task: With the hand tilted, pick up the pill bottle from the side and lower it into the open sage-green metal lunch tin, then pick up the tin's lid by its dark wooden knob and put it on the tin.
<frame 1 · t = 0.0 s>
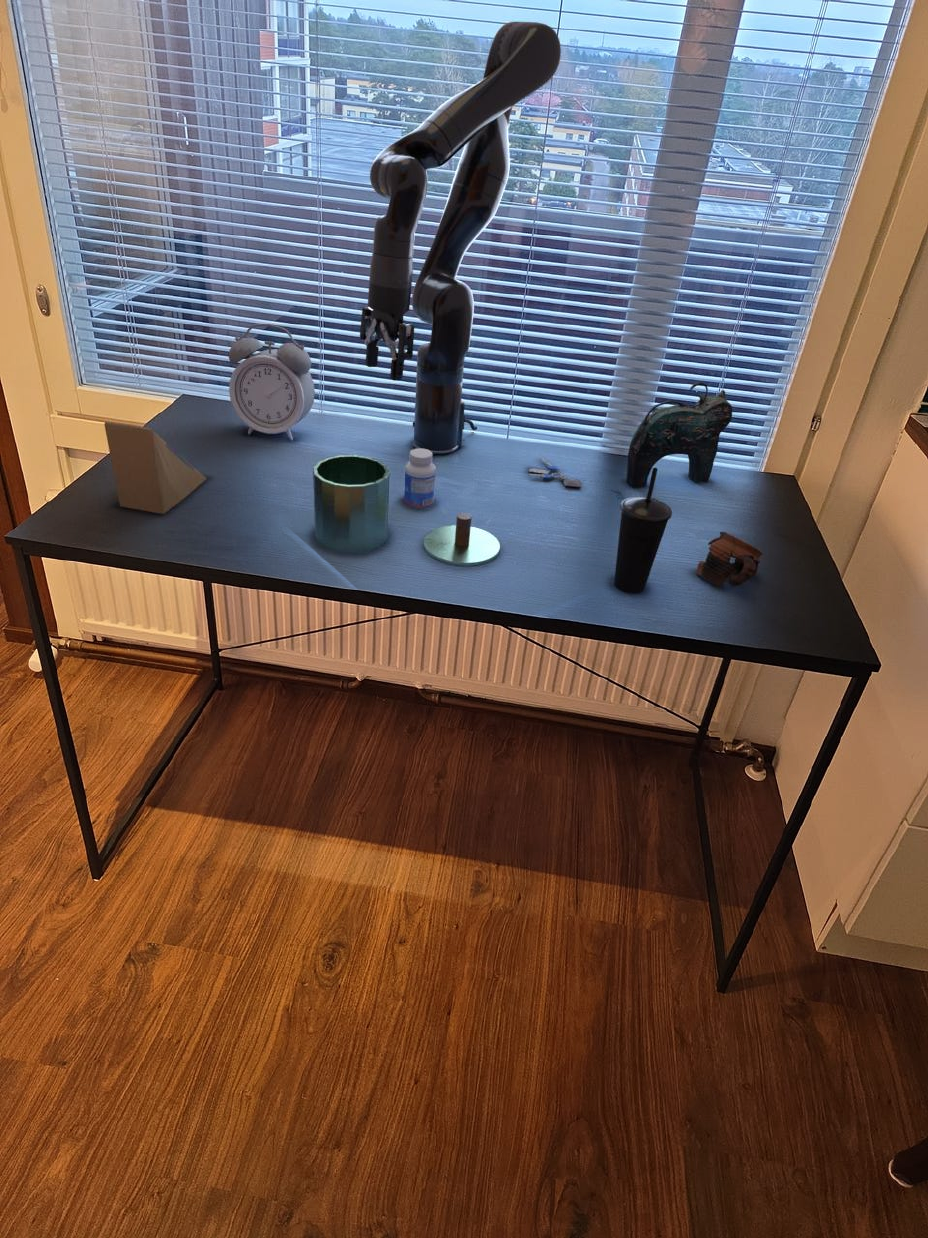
hand: (383, 372, 154), 17 cm above the table, tool pointing down, fingers open, 8 cm apart
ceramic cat: (669, 482, 165), on the table
key chain: (548, 477, 162), on the table
sandwich container: (165, 492, 145), on the table
alarm clock: (274, 433, 170), on the table
brown wooden hut: (727, 579, 134), on the table
lid: (461, 546, 135), point 1 cm above the table
tin: (351, 536, 136), on the table
pill bottle: (418, 503, 149), on the table
drinking cup: (629, 586, 130), on the table
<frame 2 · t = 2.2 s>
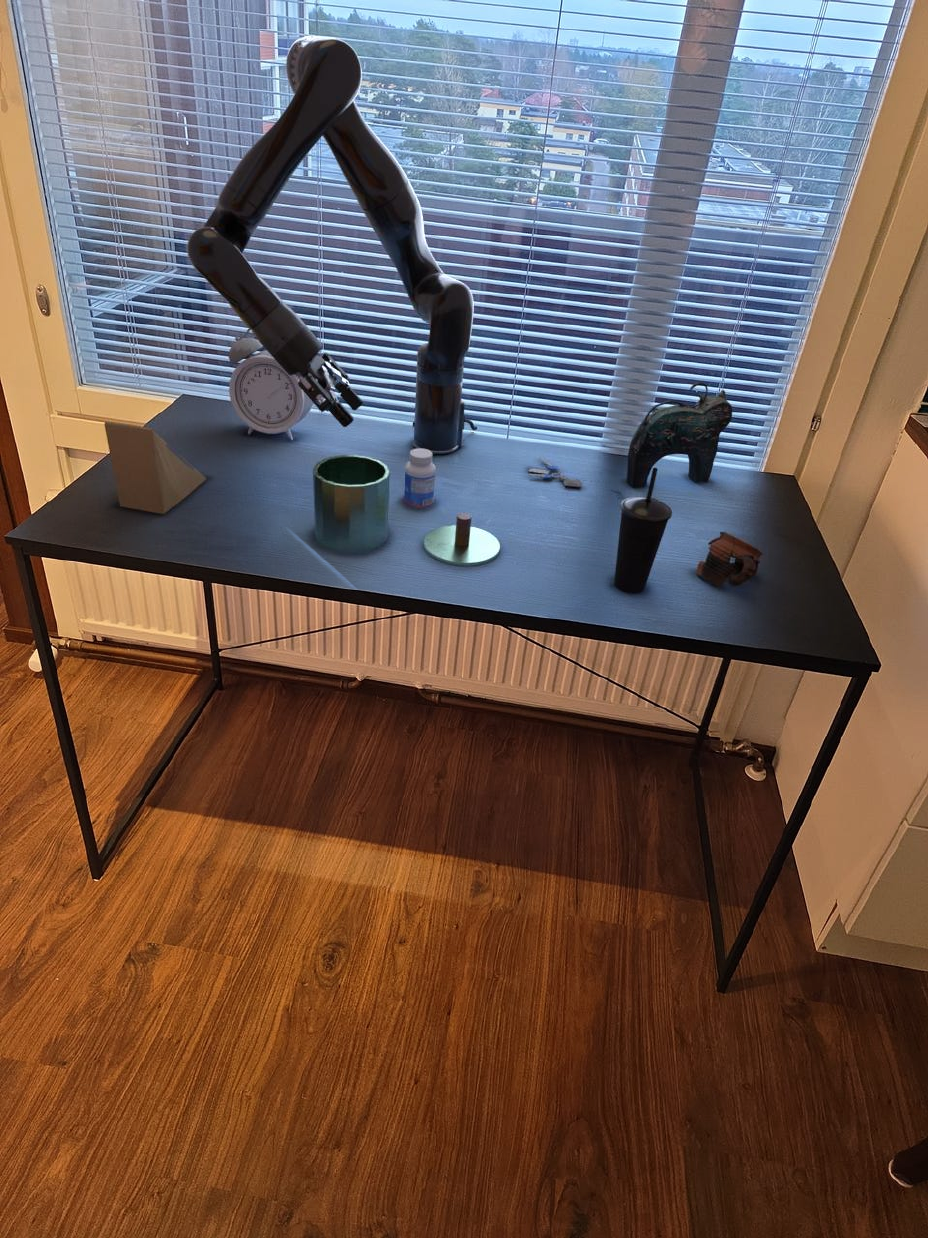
hand: (354, 415, 140), 15 cm above the table, tool tilted 45°, fingers open, 8 cm apart
nothing on the table moved.
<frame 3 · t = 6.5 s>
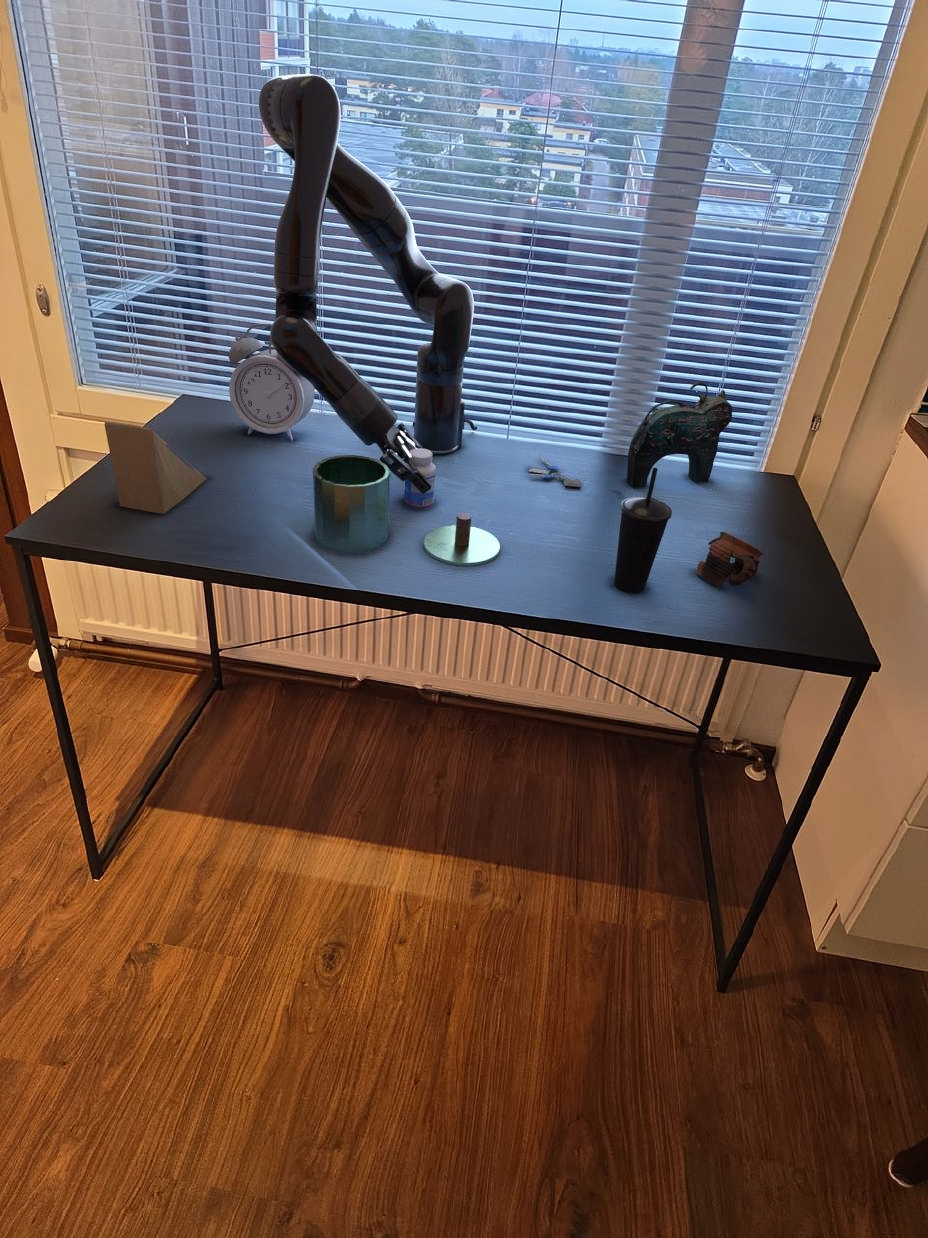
hand: (429, 482, 146), 4 cm above the table, tool tilted 45°, fingers closed on pill bottle, 5 cm apart
pill bottle: (418, 503, 149), on the table, touching gripper
everything else where it was.
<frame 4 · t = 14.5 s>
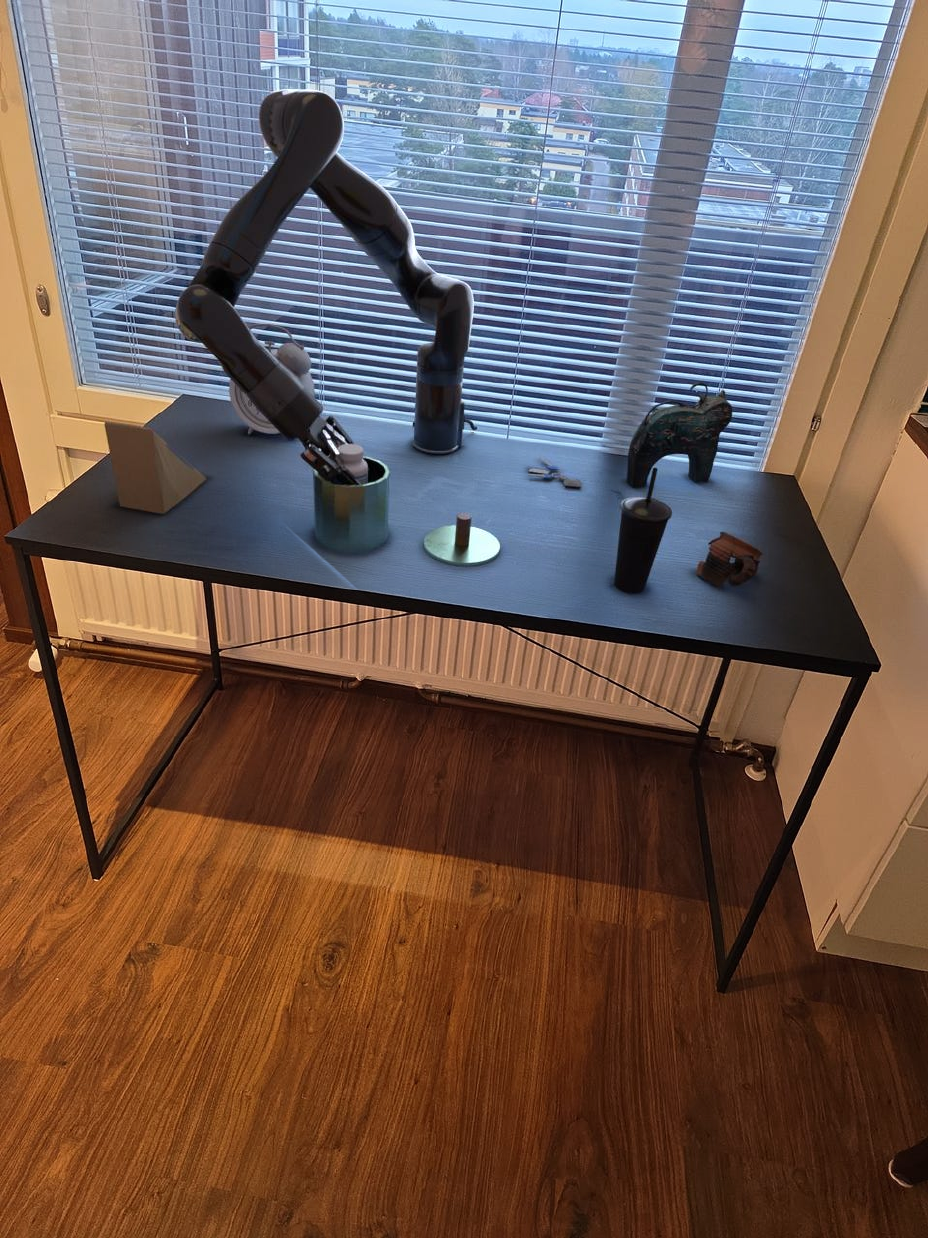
hand: (361, 482, 131), 10 cm above the table, tool tilted 45°, fingers closed on pill bottle, 5 cm apart
pill bottle: (350, 506, 133), point 6 cm above the table, touching gripper
everything else where it was.
when the fingers open (13 cm above the table, at t = 33.4 s): pill bottle drops 9 cm, resting on tin.
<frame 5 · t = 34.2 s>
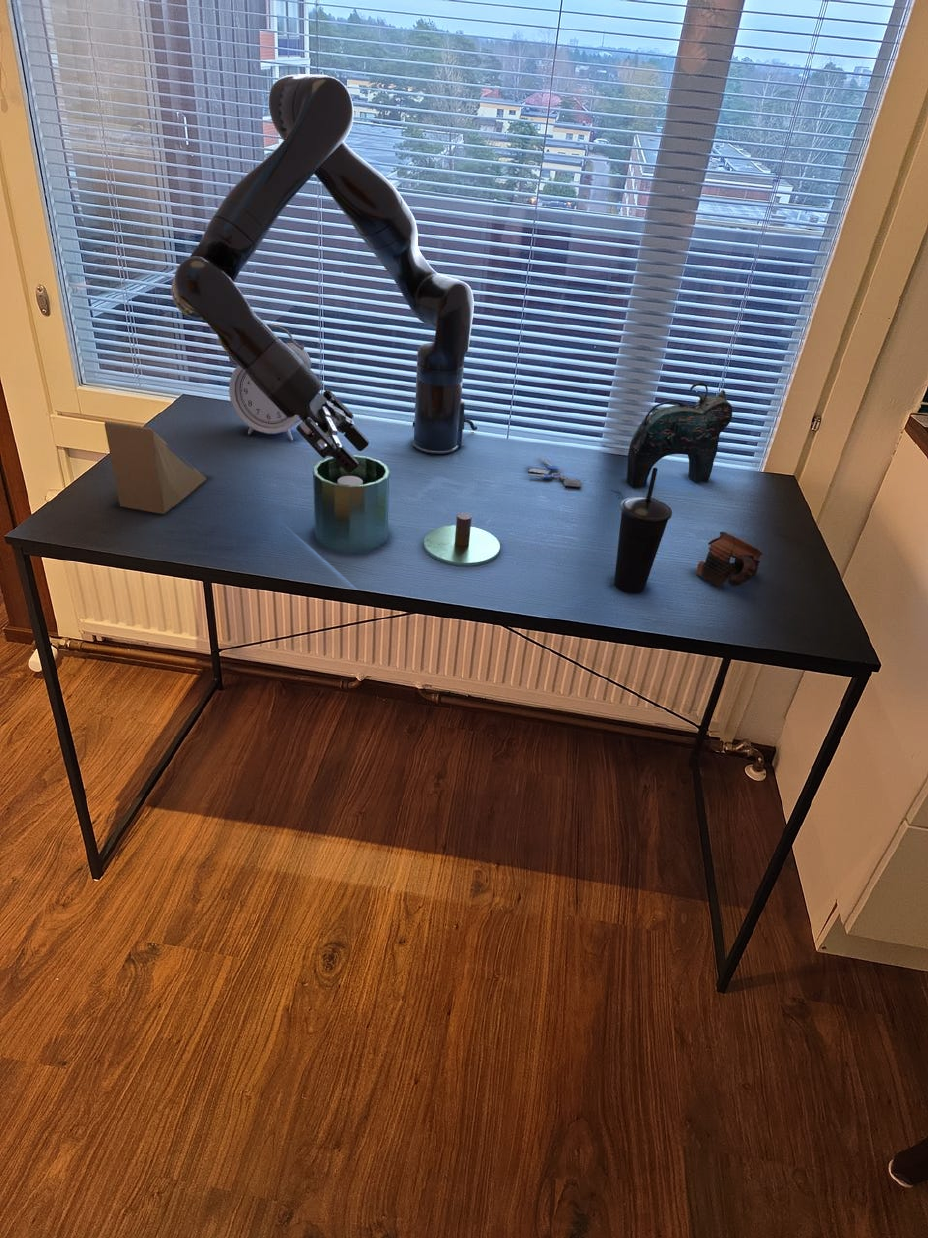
hand: (359, 457, 128), 14 cm above the table, tool tilted 45°, fingers open, 8 cm apart
pill bottle: (350, 535, 136), resting on tin
everything else where it was.
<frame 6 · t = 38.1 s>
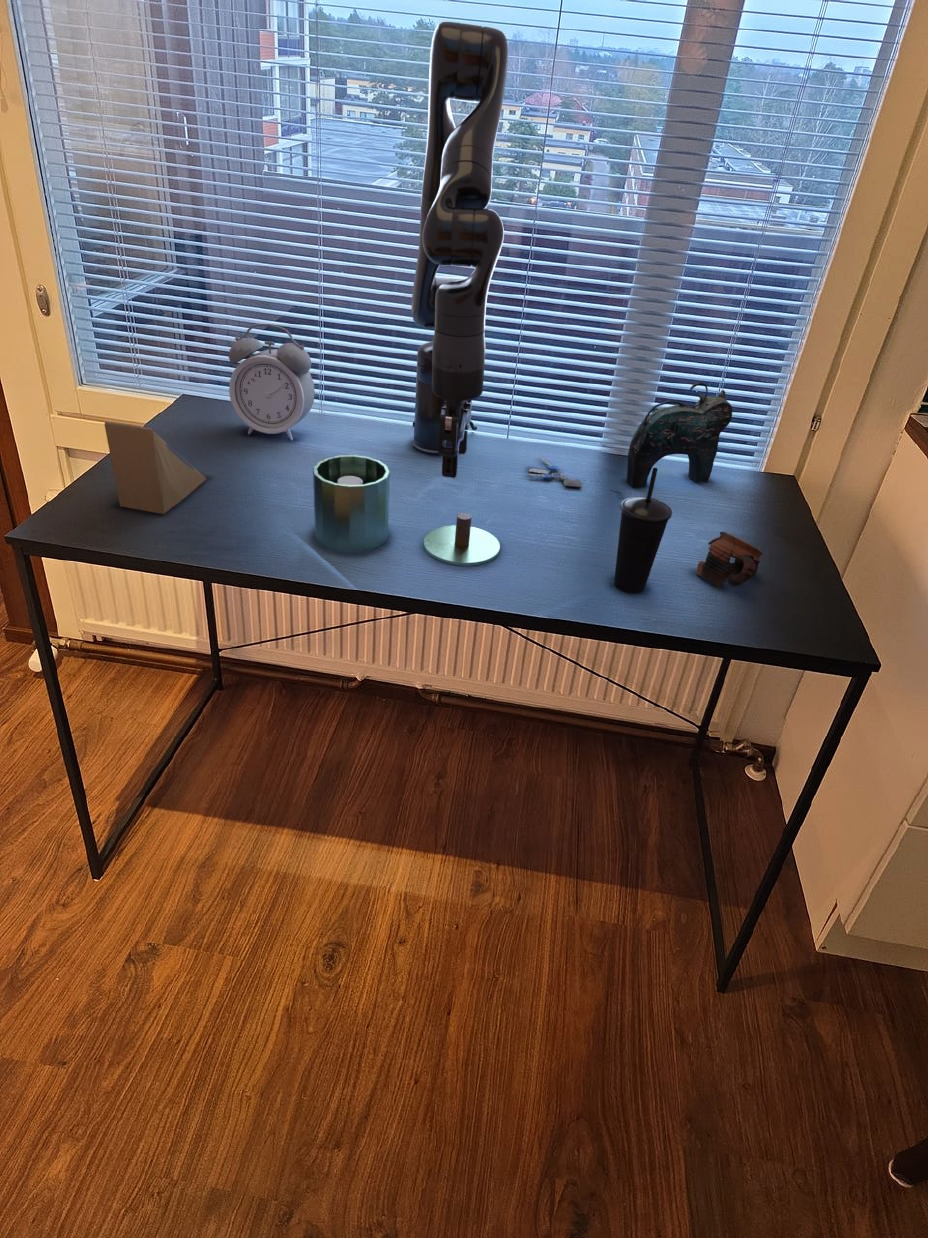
hand: (454, 464, 127), 15 cm above the table, tool pointing down, fingers open, 8 cm apart
nothing on the table moved.
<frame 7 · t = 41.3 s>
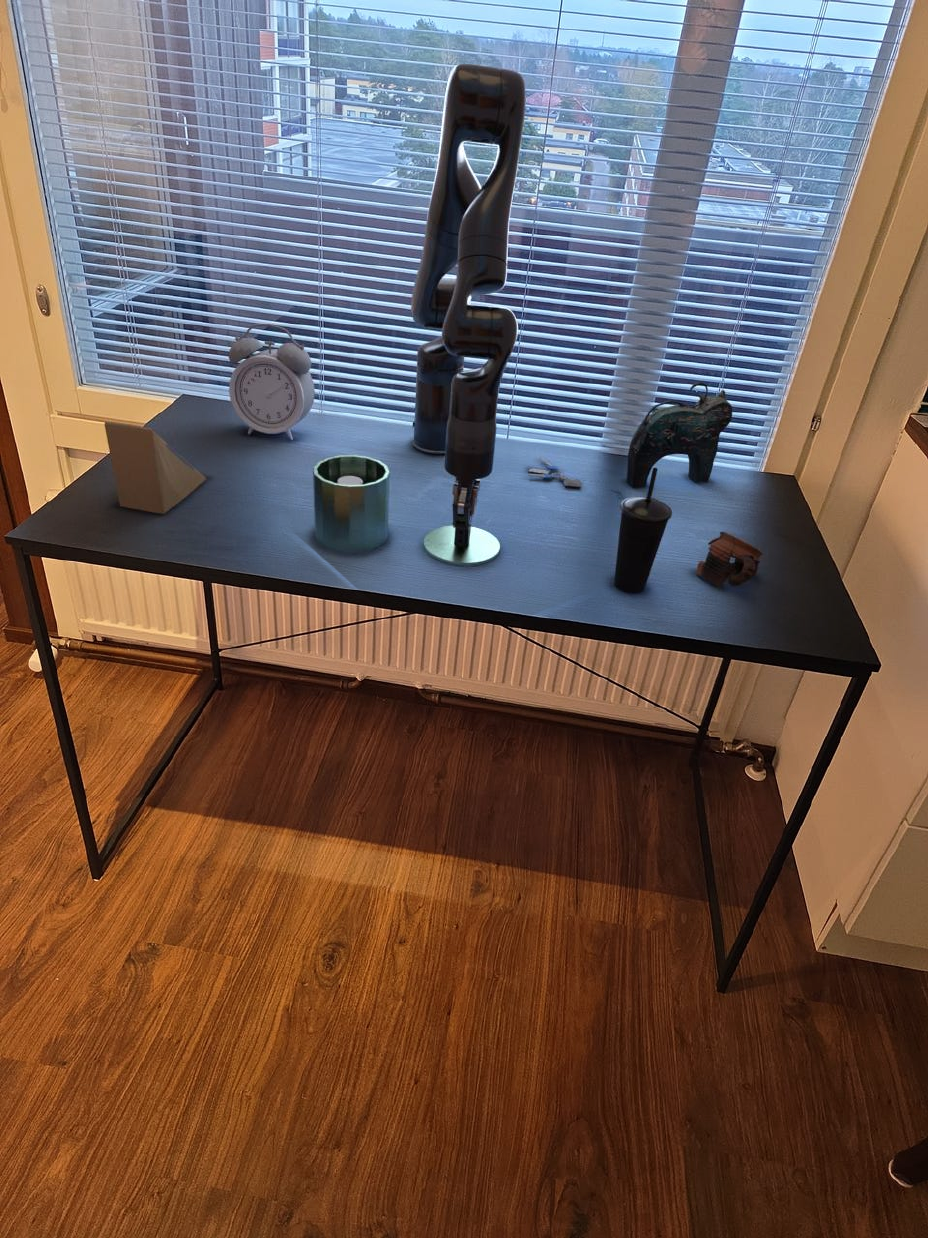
hand: (462, 541, 135), 2 cm above the table, tool pointing down, fingers closed on lid, 2 cm apart
lid: (461, 546, 135), point 1 cm above the table, touching gripper
everything else where it was.
when the fingers open (13 cm above the table, at t = 46.8 s): lid stays where it is, resting on tin.
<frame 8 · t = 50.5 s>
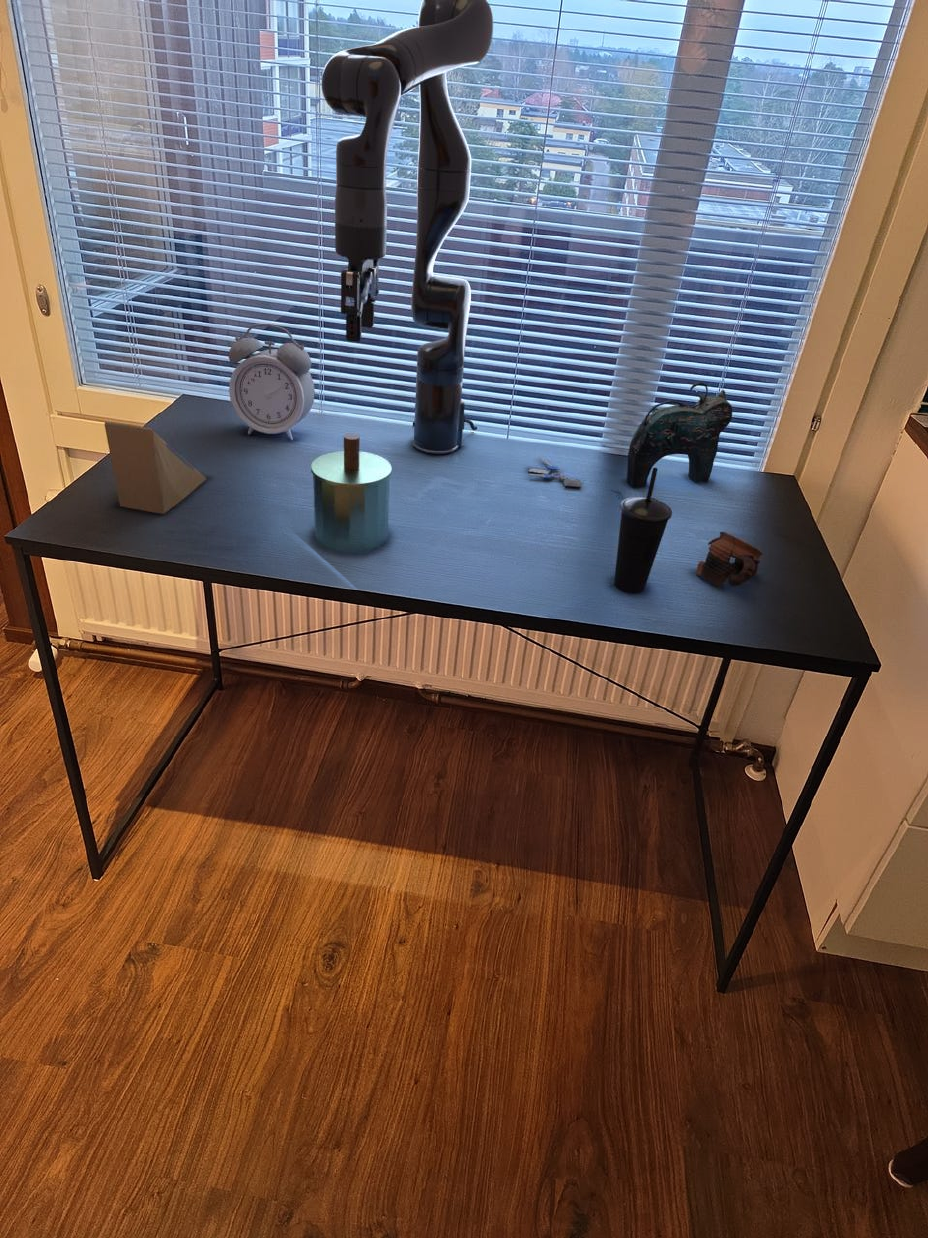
hand: (360, 333, 129), 30 cm above the table, tool pointing down, fingers open, 8 cm apart
lid: (351, 470, 130), point 12 cm above the table, touching tin
everything else where it was.
at the end: pill bottle inside the target area in the tin (0.2 cm from its centre), point 0.3 cm above the tin's base; lid 0.0 cm off-centre on the tin, point 12.0 cm above the tin's base; lid tilted 0° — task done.
